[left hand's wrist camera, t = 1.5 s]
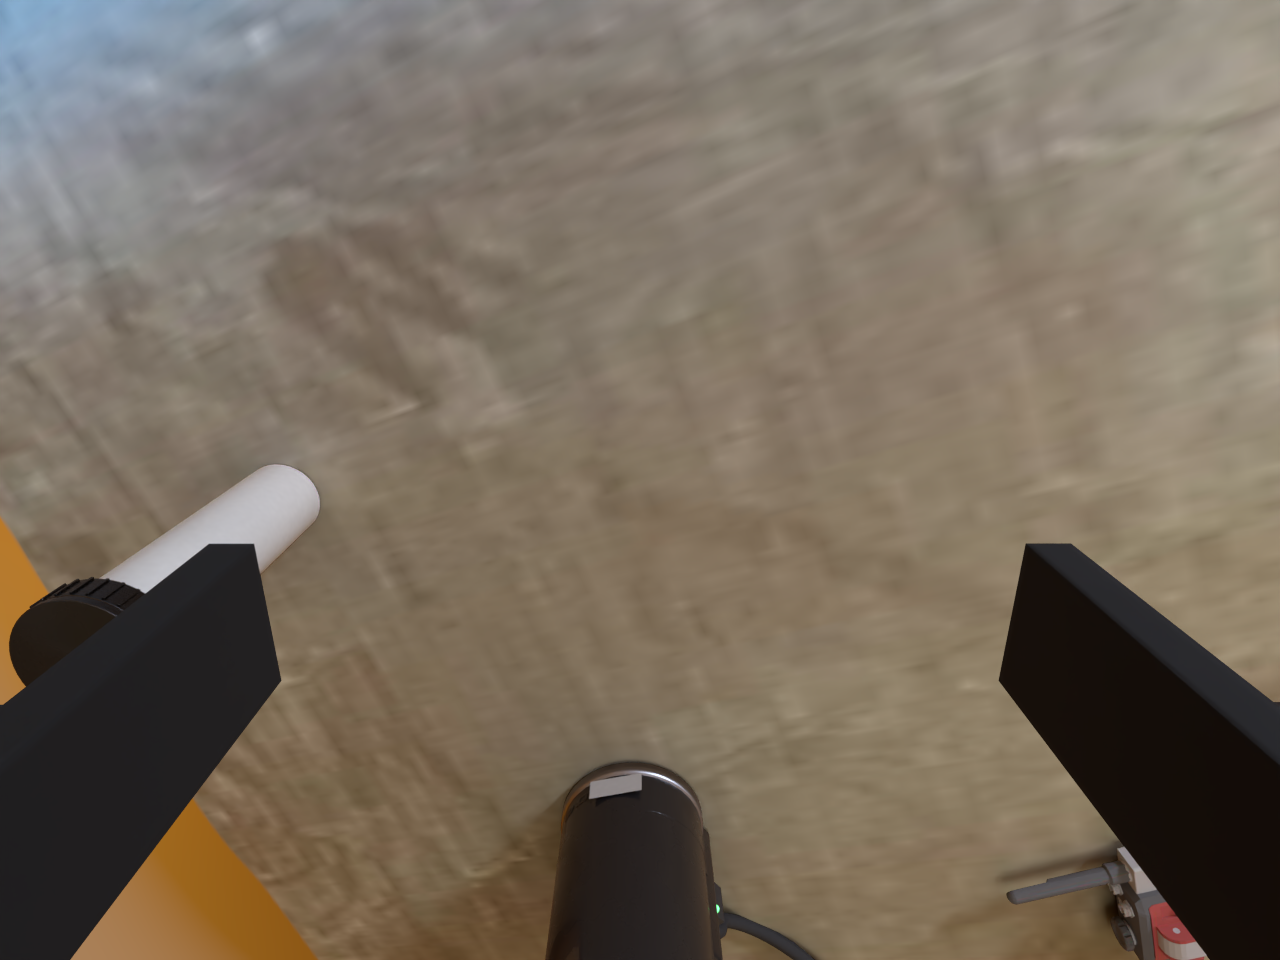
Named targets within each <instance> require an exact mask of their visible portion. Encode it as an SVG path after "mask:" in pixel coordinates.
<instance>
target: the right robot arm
mask: <svg viewBox="0 0 1280 960" xmlns="http://www.w3.org/2000/svg"><path fill="white" fill-rule="evenodd" d="M727 928H731V929H736V930H739V931H742V932H745V933H748V934H750V935H752V936H755V937H757V938H759V939H761V940H763V941H765V942H767V943H768V944H770V945H772V946H774V947H775V948H777V949H778V950H780V951H782V952H783V953H785V954H786V955H787V956H789V957H790V958H792V959H793V960H815V959H813V958H812V957H811V956H810V955H809V954H808V953H806V952H805V951H804V950H803V949H801V948H800V947H799V946H797V945H796V944H795V943H793V942H792V941H790V940H789V939H787V938H786V937H784V936H783V935H781V934H779V933H778V932H775V931H773V930H771V929H769V928H767V927H764V926H762V925H760V924H757V923H755V922H753V921H750V920H748V919H746V918H744V917H741V916H739V915H735V914H730V913H723V905H722V896H721V888H720V887H719V886H718V885H717V884H716V883H715V882H714V877H713V867H712V858H711V849H710V840H709V833H708V832H707V831H706V830H705V829H704V828H703V821H702V812H701V806H700V803H699V801H698V798H697V796H696V795H695V793H694V791H693V790H692V789H691V787H690V786H689V785H688V784H687V783H686V782H685V781H684V780H682V779H681V778H680V777H678V776H677V775H676V774H674V773H672V772H670V771H668V770H666V769H664V768H661V767H658V766H654V765H650V764H645V763H619V764H614V765H609V766H606V767H603V768H600V769H598V770H596V771H594V772H592V773H590V774H588V775H587V776H585V777H584V778H583V779H581V780H580V781H579V782H578V783H577V784H576V785H575V786H574V787H573V789H572V790H571V791H570V793H569V795H568V796H567V798H566V801H565V804H564V807H563V814H562V821H561V842H560V850H559V856H558V863H557V871H556V879H555V887H554V895H553V903H552V911H551V919H550V927H549V935H548V943H547V951H546V959H545V960H722V950H721V940H720V939H721V938H723V937H724V936H725V935H726V932H727Z"/></svg>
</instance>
